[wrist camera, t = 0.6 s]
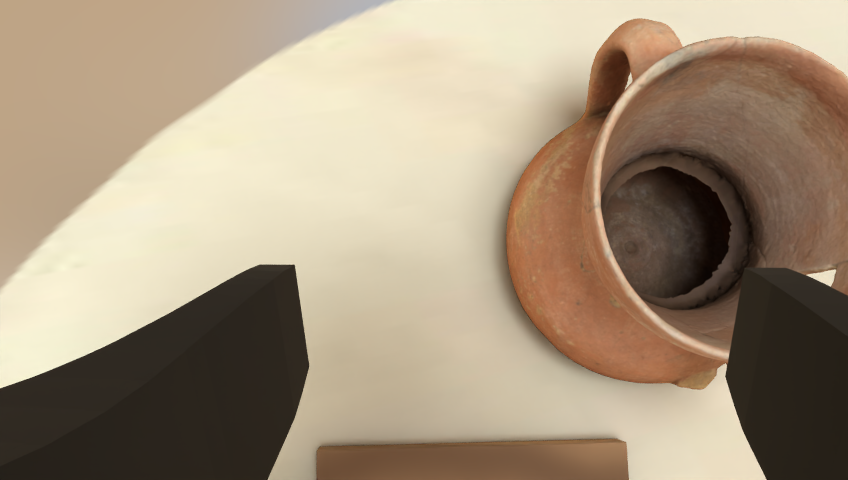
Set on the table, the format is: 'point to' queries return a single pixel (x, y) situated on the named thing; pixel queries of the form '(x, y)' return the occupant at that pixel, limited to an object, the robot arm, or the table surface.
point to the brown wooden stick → (477, 461)
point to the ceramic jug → (680, 199)
